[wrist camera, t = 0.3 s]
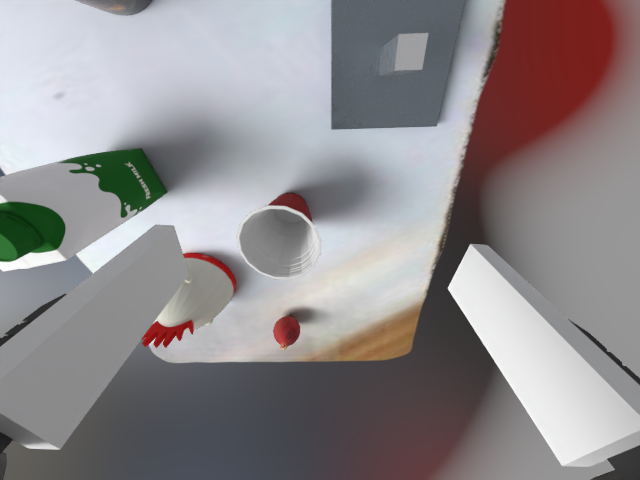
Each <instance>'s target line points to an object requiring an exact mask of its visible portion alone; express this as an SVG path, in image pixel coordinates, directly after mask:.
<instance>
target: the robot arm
mask: <svg viewBox="0 0 640 480" xmlns="http://www.w3.org/2000/svg"><path fill="white" fill-rule="evenodd" d="M188 275H189V271H188V268H187V265H186V262H185V259H184V256H183V253H182V249H181V246H180V243H179V240H178V237H177V234H176V231H175V228H174V226H171V225H155V226H153V227H152V228H151V229H149V230H148V231H147V232H146V233H144V234H143V235H142V236H141V237H139V238H138V239H137V240H135V241H134V242H133V243H132V244H130V245H129V246H128V247H127V248H125V249H124V250H123V251H122V252H120V253H119V254H118V255H116V256H115V257H114V258H113V259H111V260H110V261H109V262H108V263H106V264H105V265H104V266H102V267H101V268H100V269H99V270H97V271H96V272H95V273H94V274H92V275H91V276H90V277H88V278H87V279H86V280H85V281H83V282H82V283H81V284H80V285H78V286H77V287H76V288H75V289H73V290H72V291H71V292H70V293H68V294H64V295H62V296H60V297H58V298H56V299H54V300H52V301H50V302H48V303H47V304H45V305H43V306H41V307H40V308H38V309H37V310H36V311H34V312H33V313H32V314H30V315H29V316H28V317H26V318H25V319H24V320H23V321H22V323H21V324H20V325H16V326H15V327H14V328H12V329H11V330H9V331H8V332H7V333H5V334H4V337H3V338H0V480H3V478H4V474H5V469H6V464H7V460H6V453H4V452H2V451H3V450H4V449H5V448H6V447H7V446H8V445H9V444H10V442H11V441H12V440H14V441H16V442H18V443H20V444H21V445H24V446H25V447H27V448H32V449H61V447H62V446H63V445H64V443H65V442H66V441H67V439H68V438H69V437H70V435H71V434H72V432H73V431H74V430H75V428H76V427H77V426H78V424H79V423H80V422H81V420H82V419H83V418H84V416H85V415H86V413H87V412H88V411H89V409H90V408H91V407H92V405H93V404H94V403H95V401H96V400H97V399H98V397H99V395H100V394H101V393H102V392H103V390H104V389H105V388H106V386H107V385H108V384H109V382H110V381H111V380H112V378H113V377H114V375H115V374H116V373H117V371H118V370H119V369H120V367H121V366H122V365H123V363H124V362H125V360H126V359H127V358H128V356H129V355H130V354H131V352H132V351H133V350H134V348H135V347H136V346H137V344H138V343H139V342H140V340H141V339H142V338H143V336H144V335H145V333H146V332H147V331H148V329H149V328H150V327H151V325H152V324H153V323H154V321H155V320H156V319H157V317H158V316H159V314H160V313H161V312H162V310H163V309H164V308H165V306H166V305H167V304H168V302H169V301H170V300H171V298H172V297H173V295H174V294H175V293H176V291H177V290H178V289H179V287H180V286H181V285H182V283H183V282H184V281H185V279H186V278H187V276H188ZM448 289H449V291H450V293H451V294H452V296H453V297H454V299H455V300H456V302H457V304H458V305H459V307H460V308H461V310H462V311H463V313H464V314H465V316H466V317H467V319H468V320H469V322H470V324H471V325H472V326H473V328H474V330H475V331H476V333H477V335H478V336H479V338H480V339H481V341H482V342H483V344H484V345H485V347H486V349H487V350H488V352H489V353H490V355H491V356H492V358H493V359H494V361H495V363H496V364H497V366H498V367H499V369H500V370H501V372H502V373H503V375H504V376H505V378H506V379H507V381H508V383H509V384H510V386H511V387H512V389H513V390H514V392H515V394H516V395H517V397H518V398H519V400H520V401H521V403H522V404H523V406H524V407H525V409H526V411H527V412H528V414H529V415H530V417H531V418H532V420H533V422H534V423H535V425H536V426H537V428H538V429H539V431H540V432H541V434H542V435H543V437H544V438H545V440H546V442H547V443H548V445H549V446H550V448H551V449H552V451H553V452H554V454H555V456H556V457H557V459H558V460H559V462H560V463H561V465H562V466H580V467H590V466H592V465H595V464H597V463H600V462H602V461H605V460H608V461H609V462H610V463H611V464H612V466H613V467H614V468H615V470H614V471H611V472H608V473H605V474H603V475H600V476H597V477H595V478H593V479H591V480H640V378H639V377H638V376H636V375H635V374H634V373H633V372H632V371H631V370H630V369H628V368H627V367H626V366H623V365H622V362H621V361H620V360H619V359H617V358H616V357H615V356H614V355H613V354H612V353H611V352H607V349H606V348H605V347H604V346H603V345H602V344H601V343H600V342H599V341H597V340H596V339H595V338H594V337H593V336H592V335H591V334H589V333H588V332H587V331H585V330H584V329H582V328H581V327H579V326H578V325H576V324H574V323H573V322H572V321H570V320H569V319H567V318H566V317H565V316H564V315H563V314H562V313H560V312H559V311H558V310H557V309H556V308H555V307H554V306H553V305H552V304H551V303H550V302H548V300H546V299H545V298H544V297H543V296H542V295H541V294H540V293H539V292H538V291H537V290H536V289H534V288H533V287H532V286H531V285H530V284H529V283H528V282H527V281H526V280H525V279H524V278H522V277H521V276H520V275H519V274H518V273H517V272H516V271H515V270H514V269H513V268H512V267H510V266H509V265H508V264H507V263H506V262H505V261H504V260H503V259H502V258H501V257H500V256H499V255H497V254H496V253H495V252H494V251H493V250H492V249H491V248H490V247H489V246H488V245H477V244H470V246H469V248H468V250H467V252H466V254H465V256H464V258H463V260H462V261H461V263H460V265H459V267H458V269H457V271H456V273H455V275H454V277H453V279H452V281H451V283H450V285H449V287H448Z"/></svg>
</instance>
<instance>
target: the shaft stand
mask: <svg viewBox="0 0 640 480" xmlns="http://www.w3.org/2000/svg"><path fill="white" fill-rule="evenodd" d="M464 2H465V0H331V129H362V128H396V127H430V126H437V122H438V118H439V113H440V109H441V105H442V100H443V96H444V91H445V87H446V82H447V78H448V73H449V69H450V64H451V60H452V56H453V51H454V47H455V42H456V38H457V33H458V29H459V24H460V20H461V15H462V11H463V7H464Z"/></svg>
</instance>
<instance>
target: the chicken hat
mask: <svg viewBox="0 0 640 480" xmlns="http://www.w3.org/2000/svg"><path fill="white" fill-rule="evenodd" d="M183 256H184V259H185V262H186V265H187V268H188V271H189V275H188V276H187V278H186V279H185V281H184V282H183V283H182V285H181V286H180V287H179V289H178V290H177V291H176V293H175V294H174V295H173V297H172V298H171V300H170V301H169V302H168V304H167V305H166V306H165V308H164V309H163V310H162V312H161V313H160V314H159V316H158V317H157V321H156V322H155V323H154V324H152V325H151V327H150V328H149V329H148V331H147V332H146V333H145V335H144V336H143V338H142V339H144V338H145V337H146V338H145V339H144V341H143V343H142V344H143V345H144V346H145V347H146V346H147V345H149V344H150V343H151V342H152V341H153V340H154V339H155V338H156V339H155V341H154V346H155V347H156V348H157V347H158V346H159V345H160V343H161V342H162V341H163V340H164V342H163V345H164V347H165V348H166V347H167V346H168V345H169V344H170V342H171V341H172V340H173V338H174V337H175V336H177V338H178V340H179V341H180V340H181V338H182V335H183V332H189V331H190V332H191V334H193V331H194V330H195V329H197V328H200V327H202V326H204V325H205V324H208V325H209V324H211V323H212V321H213V318H215V317H216V316H217V315H218V314H219V313H220V312H221V311H222V310H223V309H224V308H225V307H226V306H227V304H228V303H229V301H230V300H231V298H232V296H233V294H234V292H235V289H236V280H235V277H234V275H233V273H232V272H231V271H230V269H229V268H228V267H227V266H226V265H224V264H223V263H222V262H221V261H219V260H217V259H215V258H213V257H211V256H208V255H204V254H200V253H186V254H183ZM164 338H165V339H164ZM142 339H141V340H142Z"/></svg>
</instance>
